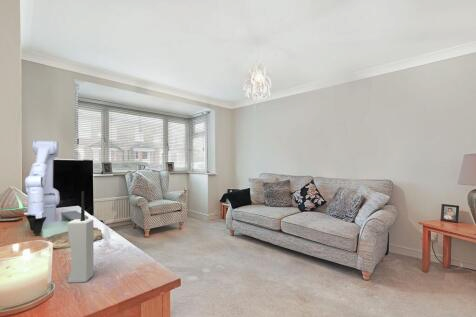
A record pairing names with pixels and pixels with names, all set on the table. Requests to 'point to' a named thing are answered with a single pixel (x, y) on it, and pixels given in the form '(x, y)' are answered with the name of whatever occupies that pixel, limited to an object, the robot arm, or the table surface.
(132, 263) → the table surface
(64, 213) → the hood
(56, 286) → the table surface
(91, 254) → the vintage mobile phone
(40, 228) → the robot arm
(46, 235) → the mint green slab
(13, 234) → the table surface
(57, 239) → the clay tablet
